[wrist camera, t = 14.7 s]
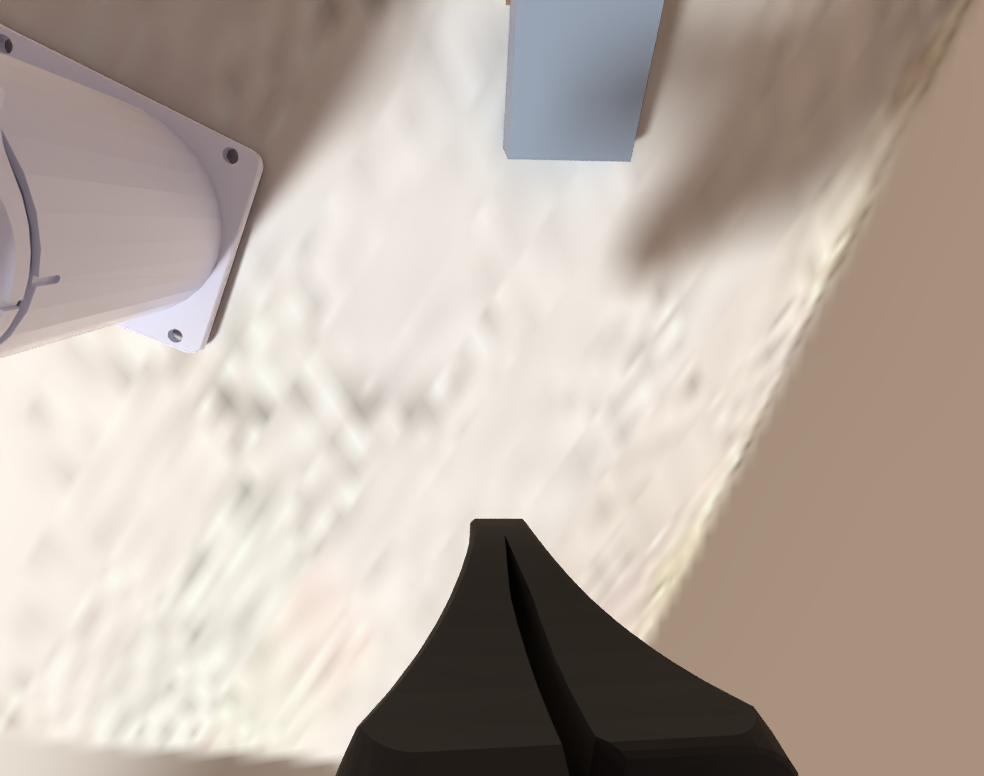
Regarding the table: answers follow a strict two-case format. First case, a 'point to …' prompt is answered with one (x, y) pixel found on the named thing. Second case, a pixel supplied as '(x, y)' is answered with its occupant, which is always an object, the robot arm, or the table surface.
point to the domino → (577, 77)
